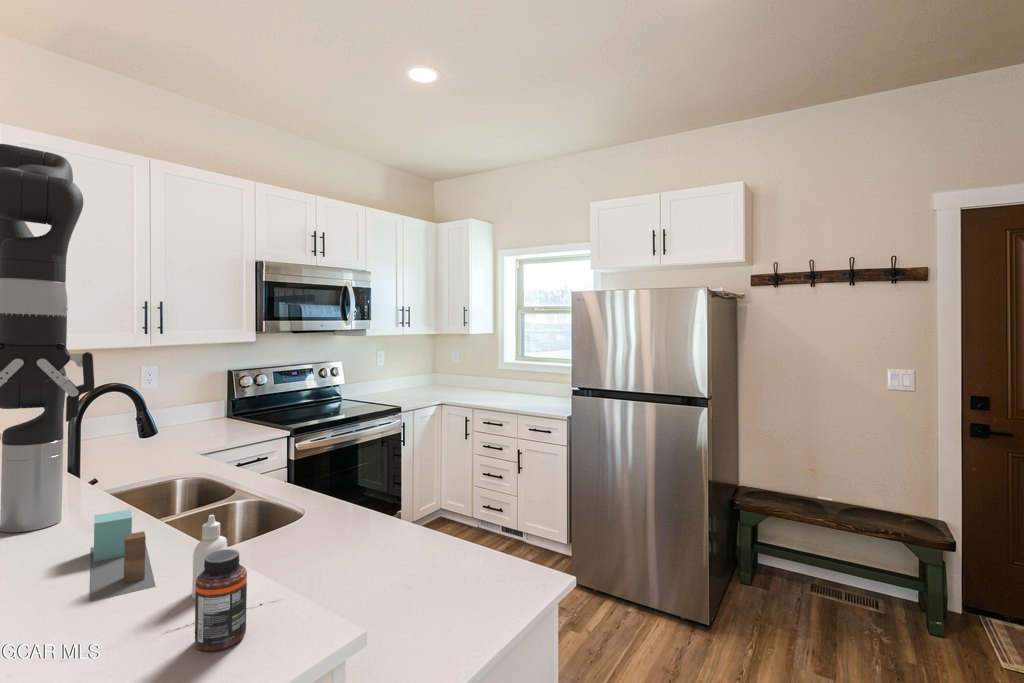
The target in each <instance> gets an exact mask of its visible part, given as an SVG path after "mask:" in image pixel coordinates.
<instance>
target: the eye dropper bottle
mask: <svg viewBox="0 0 1024 683" xmlns="http://www.w3.org/2000/svg"><path fill="white" fill-rule="evenodd" d="M201 526H202V528H201V540H200V542H198V544H197V545H196V547H195V548H194V550H193V554H192V558H193V560H192V587H191V592H192V593H191V597H192V599H195V596H196V595H195V593H196V590H195V589H196V579H197V577H198V576H199V575H200V573H202V572H203V571H204V569H205V568H204V562H205V557H206V556H207V555H209V554H210V553H213V552H215V551H219V550H226V549H228V539H227V538H226V537H225V536H223V535H221V523H220V521H216V519H215V515H214V514H209V515H208V519H207V522H205V523H204V524H202V525H201Z"/></svg>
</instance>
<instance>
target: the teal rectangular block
mask: <svg viewBox="0 0 1024 683" xmlns="http://www.w3.org/2000/svg"><path fill="white" fill-rule="evenodd" d="M93 519H94V520H93V521H94V522H93V547H94V562H95V561H100V560H105V559H110V558H115V557H120V556H124V542H125V535H126V534H132V533H133V531H132V528H133V527H132V526H133V516H132V510H131V509H126V510H119V511H113V512H106V513H99V514H94V518H93Z"/></svg>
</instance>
